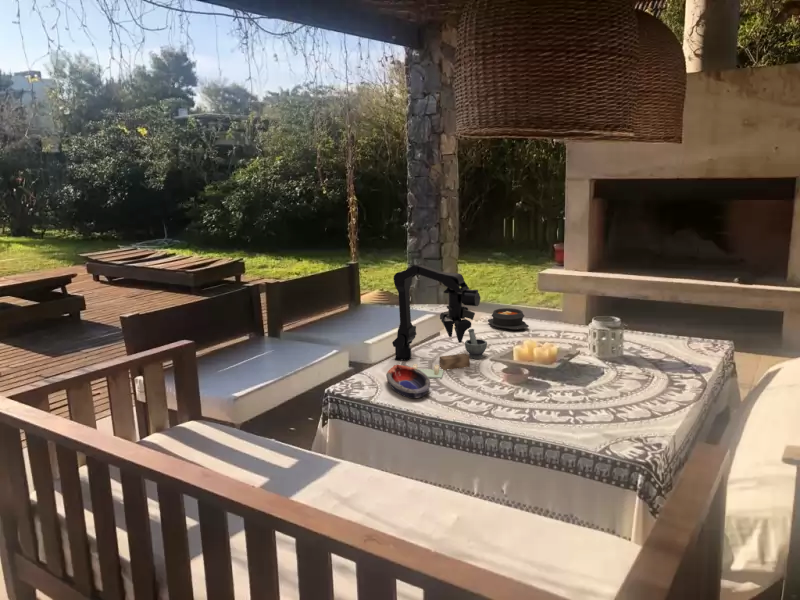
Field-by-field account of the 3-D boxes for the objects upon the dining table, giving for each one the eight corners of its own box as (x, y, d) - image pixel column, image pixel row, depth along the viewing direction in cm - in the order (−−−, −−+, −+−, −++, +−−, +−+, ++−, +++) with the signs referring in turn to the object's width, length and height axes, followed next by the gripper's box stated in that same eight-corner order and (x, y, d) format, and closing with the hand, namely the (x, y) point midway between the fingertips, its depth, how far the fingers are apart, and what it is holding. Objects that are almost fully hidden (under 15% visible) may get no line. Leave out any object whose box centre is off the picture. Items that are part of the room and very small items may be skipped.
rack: (407, 377, 265) (407, 368, 264) (410, 370, 273) (410, 362, 272) (441, 378, 262) (441, 369, 262) (443, 371, 271) (443, 363, 270)
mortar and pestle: (490, 358, 287) (490, 332, 284) (471, 361, 284) (471, 334, 281) (479, 351, 297) (479, 326, 295) (460, 354, 294) (460, 328, 292)
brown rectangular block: (443, 370, 273) (443, 359, 272) (439, 367, 277) (439, 356, 276) (469, 367, 276) (469, 356, 275) (465, 364, 280) (465, 353, 279)
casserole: (537, 329, 333) (537, 313, 331) (508, 334, 324) (508, 318, 323) (507, 319, 355) (507, 304, 353) (479, 324, 346) (479, 309, 344)
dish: (398, 404, 237) (397, 391, 236) (380, 376, 266) (380, 364, 265) (438, 399, 240) (438, 386, 239) (417, 372, 269) (416, 360, 268)
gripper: (482, 306, 266) (482, 343, 269) (462, 297, 283) (462, 332, 286) (458, 309, 262) (458, 346, 265) (439, 300, 279) (439, 335, 282)
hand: (455, 339), depth 275 cm, fingers open, 9 cm apart
